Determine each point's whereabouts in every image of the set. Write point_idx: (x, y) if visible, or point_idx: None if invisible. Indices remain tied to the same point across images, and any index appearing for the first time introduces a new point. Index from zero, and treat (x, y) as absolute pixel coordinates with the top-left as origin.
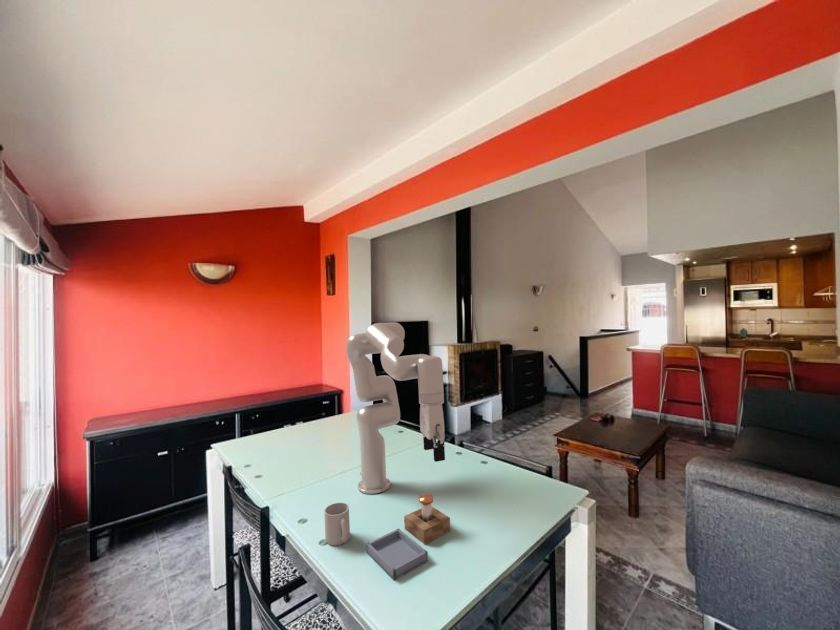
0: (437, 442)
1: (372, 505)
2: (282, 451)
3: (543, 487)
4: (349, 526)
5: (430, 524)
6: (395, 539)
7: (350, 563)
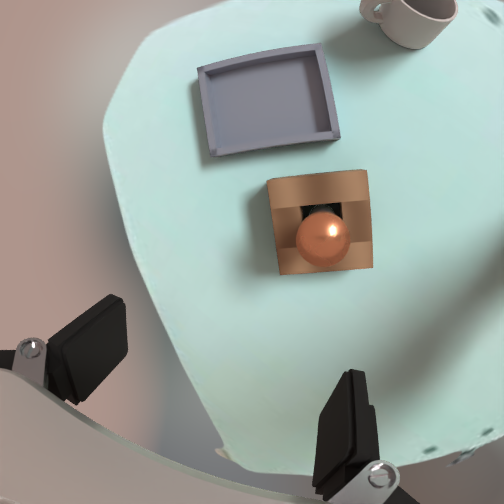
0: (2, 368)
1: (495, 161)
2: None
3: (290, 460)
4: (403, 35)
5: (282, 211)
6: (324, 121)
7: (301, 15)
